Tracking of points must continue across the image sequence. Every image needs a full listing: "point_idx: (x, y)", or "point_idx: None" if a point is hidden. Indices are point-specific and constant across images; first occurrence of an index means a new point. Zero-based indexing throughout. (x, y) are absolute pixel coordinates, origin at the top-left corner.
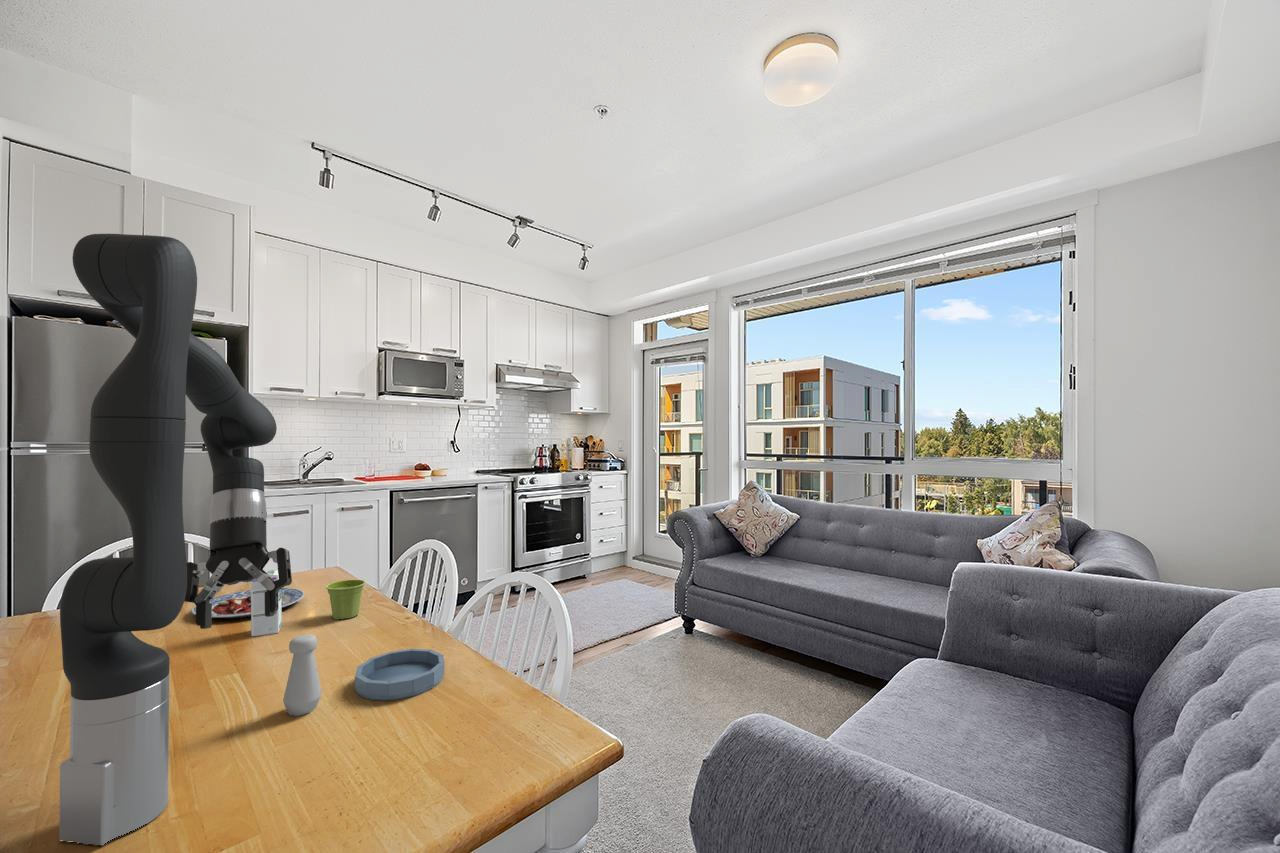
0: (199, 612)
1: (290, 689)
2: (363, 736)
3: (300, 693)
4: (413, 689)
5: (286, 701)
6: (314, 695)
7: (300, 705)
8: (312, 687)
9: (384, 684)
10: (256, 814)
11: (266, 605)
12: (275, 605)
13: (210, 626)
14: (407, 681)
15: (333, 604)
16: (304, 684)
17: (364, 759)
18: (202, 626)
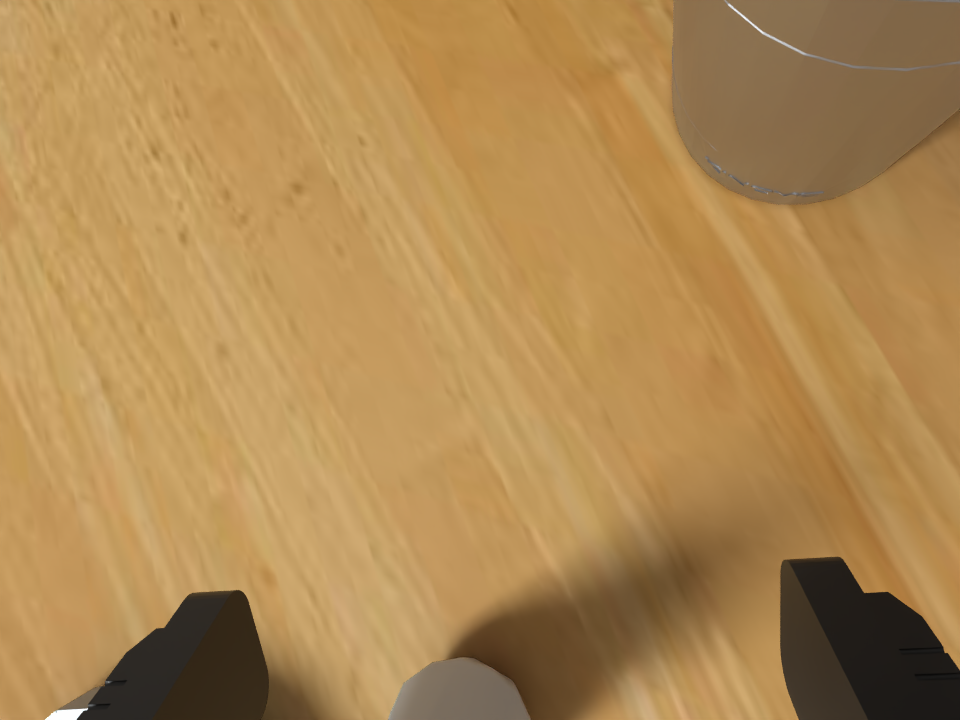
0: (933, 698)
1: (475, 713)
2: (209, 427)
3: (435, 688)
4: (86, 693)
5: (502, 689)
6: (397, 697)
7: (448, 661)
8: (391, 714)
9: None
10: (387, 47)
11: (175, 650)
12: (116, 670)
13: (785, 665)
14: (76, 707)
15: None
16: (411, 714)
17: (175, 280)
18: (815, 561)
